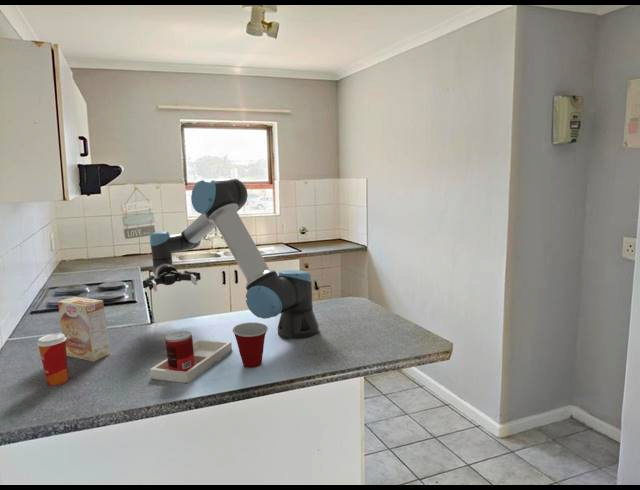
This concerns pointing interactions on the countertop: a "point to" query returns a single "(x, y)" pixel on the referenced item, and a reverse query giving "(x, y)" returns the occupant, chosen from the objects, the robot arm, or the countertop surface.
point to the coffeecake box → (84, 328)
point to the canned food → (180, 351)
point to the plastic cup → (250, 342)
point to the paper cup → (54, 358)
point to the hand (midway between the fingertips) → (175, 284)
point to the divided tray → (203, 357)
